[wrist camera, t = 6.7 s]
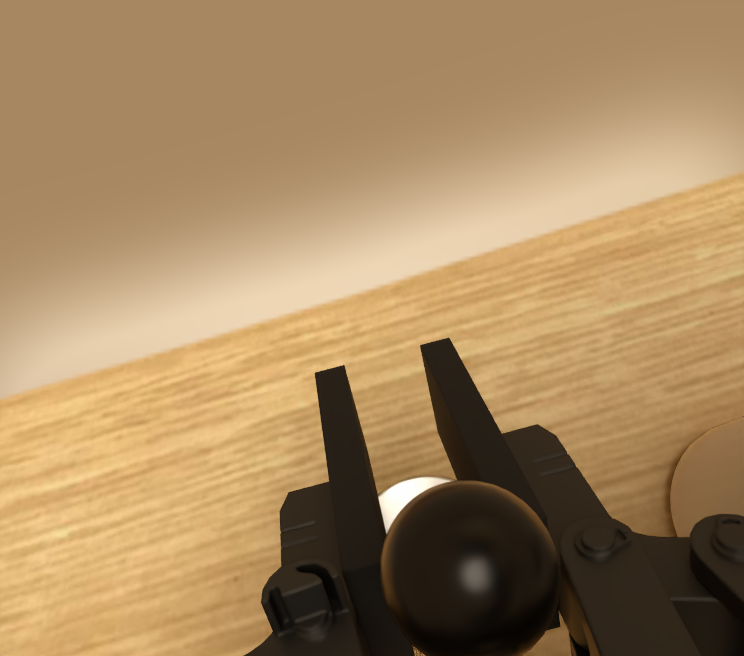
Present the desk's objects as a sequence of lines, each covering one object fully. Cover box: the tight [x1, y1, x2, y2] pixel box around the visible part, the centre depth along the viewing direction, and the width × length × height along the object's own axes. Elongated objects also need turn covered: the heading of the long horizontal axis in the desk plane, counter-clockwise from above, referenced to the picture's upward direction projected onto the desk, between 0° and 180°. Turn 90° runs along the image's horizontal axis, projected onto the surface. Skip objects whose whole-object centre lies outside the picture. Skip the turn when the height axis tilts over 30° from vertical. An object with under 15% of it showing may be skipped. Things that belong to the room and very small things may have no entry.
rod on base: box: [378, 475, 561, 656], centre depth 14 cm, size 5×5×16 cm
